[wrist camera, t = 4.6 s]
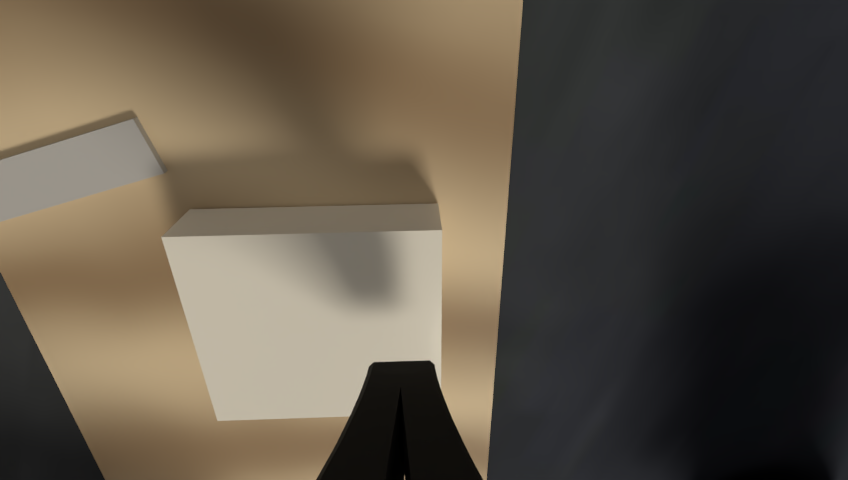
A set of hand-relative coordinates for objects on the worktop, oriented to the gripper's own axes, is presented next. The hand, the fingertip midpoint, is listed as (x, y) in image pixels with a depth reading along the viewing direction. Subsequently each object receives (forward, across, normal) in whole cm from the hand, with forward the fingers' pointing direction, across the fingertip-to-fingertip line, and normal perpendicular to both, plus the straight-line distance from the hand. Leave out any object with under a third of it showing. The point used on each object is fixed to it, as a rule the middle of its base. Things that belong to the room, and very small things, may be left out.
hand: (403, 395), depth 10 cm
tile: (+3, -1, 0) cm, 3 cm away
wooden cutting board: (+4, +4, 0) cm, 6 cm away
